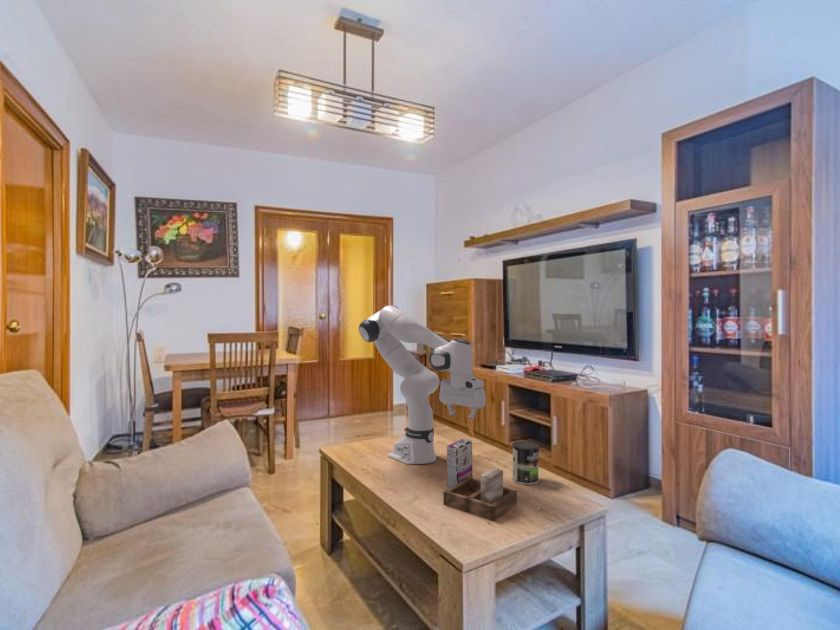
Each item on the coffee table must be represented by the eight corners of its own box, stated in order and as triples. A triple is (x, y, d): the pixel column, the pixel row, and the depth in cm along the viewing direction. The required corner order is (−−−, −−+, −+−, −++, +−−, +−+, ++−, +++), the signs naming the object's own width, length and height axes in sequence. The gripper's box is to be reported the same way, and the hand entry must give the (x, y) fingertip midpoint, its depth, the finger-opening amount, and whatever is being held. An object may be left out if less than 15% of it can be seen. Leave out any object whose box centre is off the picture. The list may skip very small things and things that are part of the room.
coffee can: (544, 481, 184) (544, 445, 183) (526, 487, 178) (526, 450, 177) (524, 473, 192) (524, 439, 192) (506, 478, 186) (506, 444, 186)
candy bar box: (462, 478, 186) (462, 438, 185) (472, 481, 183) (472, 440, 182) (446, 487, 177) (446, 445, 177) (457, 491, 174) (457, 447, 174)
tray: (443, 504, 162) (443, 470, 162) (468, 489, 176) (468, 457, 175) (494, 520, 150) (494, 484, 150) (516, 503, 163) (517, 469, 163)
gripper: (435, 379, 184) (436, 413, 185) (478, 384, 171) (478, 422, 171) (445, 377, 189) (446, 411, 189) (487, 382, 175) (488, 419, 176)
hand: (461, 416), depth 180 cm, fingers open, 8 cm apart
